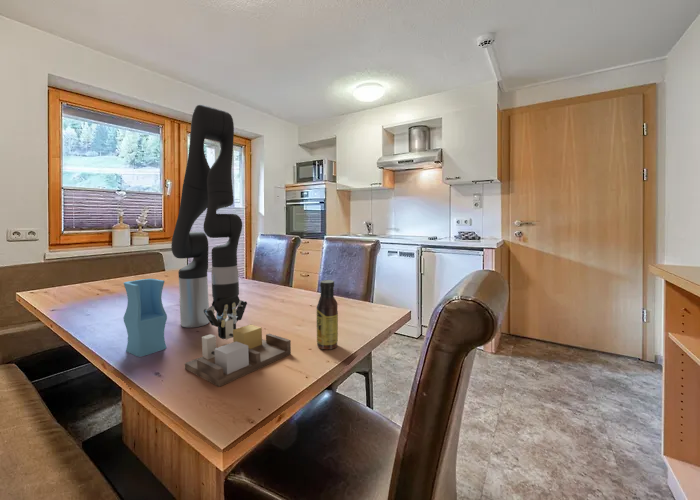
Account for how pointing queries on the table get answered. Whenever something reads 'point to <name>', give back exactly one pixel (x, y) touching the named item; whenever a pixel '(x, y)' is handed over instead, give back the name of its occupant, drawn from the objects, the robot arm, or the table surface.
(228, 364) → the white block with handle
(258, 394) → the table surface
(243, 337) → the ochre block
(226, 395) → the table surface
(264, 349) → the lane rack
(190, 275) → the robot arm
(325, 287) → the sauce bottle
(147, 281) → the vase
